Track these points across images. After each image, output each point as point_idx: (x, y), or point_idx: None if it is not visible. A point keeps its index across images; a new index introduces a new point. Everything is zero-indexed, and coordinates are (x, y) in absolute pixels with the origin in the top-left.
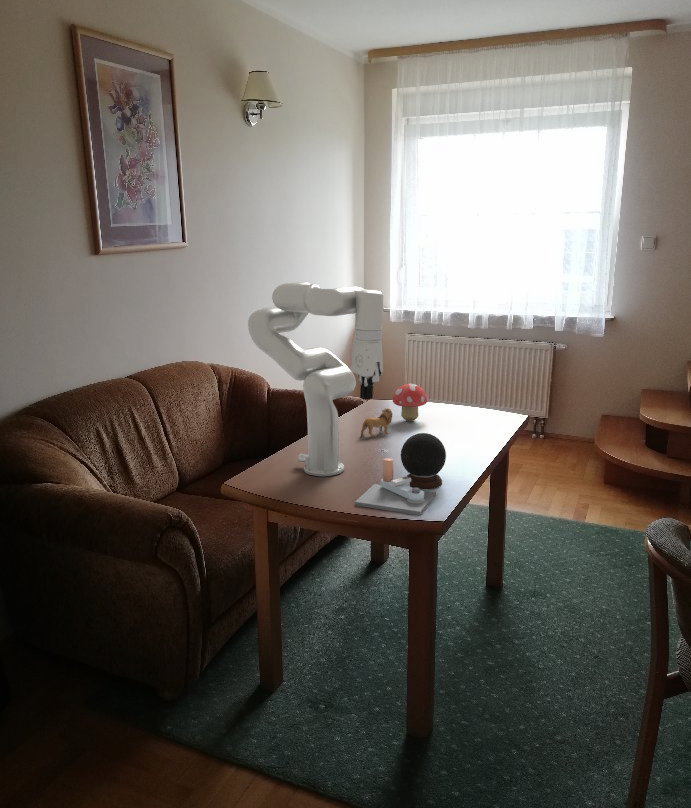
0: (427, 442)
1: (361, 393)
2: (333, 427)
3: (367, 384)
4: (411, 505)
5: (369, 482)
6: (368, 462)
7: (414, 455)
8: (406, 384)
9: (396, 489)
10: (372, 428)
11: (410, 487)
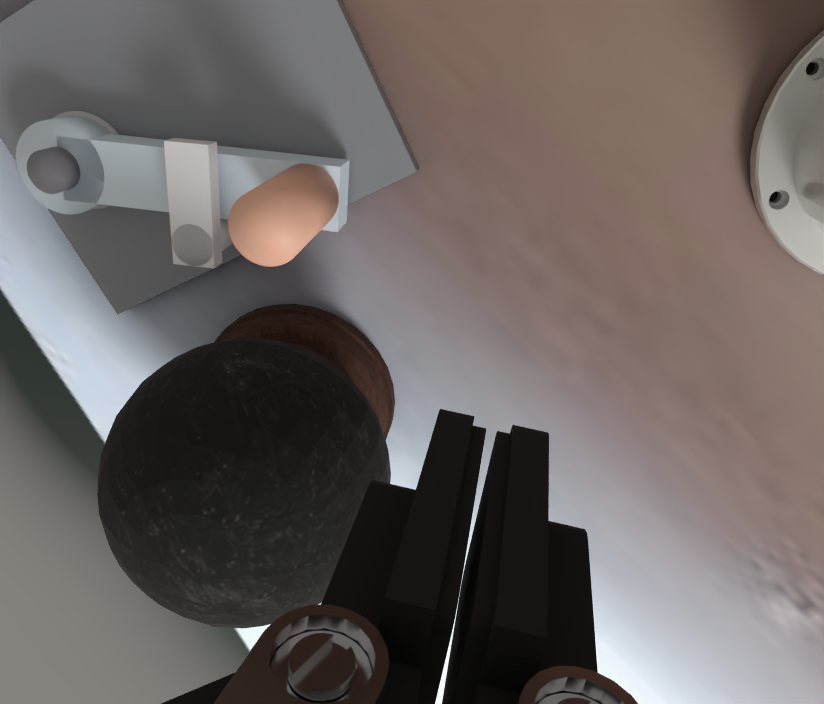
0: (118, 503)
1: (508, 485)
2: None
3: (249, 675)
4: (38, 85)
5: (497, 202)
6: (739, 429)
7: (171, 380)
8: None
9: None
10: None
11: (135, 202)
